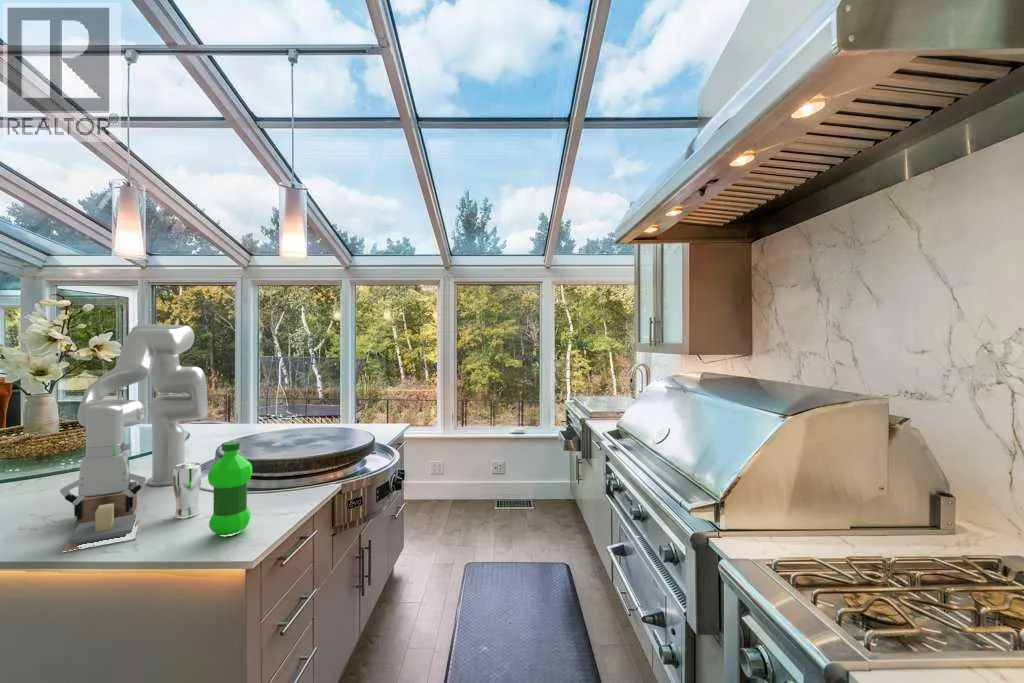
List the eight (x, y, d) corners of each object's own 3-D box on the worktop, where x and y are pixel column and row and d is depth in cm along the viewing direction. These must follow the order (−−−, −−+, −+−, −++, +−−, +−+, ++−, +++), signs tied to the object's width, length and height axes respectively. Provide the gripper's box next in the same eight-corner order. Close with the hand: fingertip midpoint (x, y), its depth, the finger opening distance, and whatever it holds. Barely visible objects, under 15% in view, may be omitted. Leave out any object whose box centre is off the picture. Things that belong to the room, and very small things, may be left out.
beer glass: (170, 521, 133) (170, 470, 133) (175, 512, 140) (175, 463, 139) (199, 517, 137) (199, 467, 136) (202, 509, 143) (202, 461, 142)
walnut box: (136, 506, 144) (136, 481, 144) (132, 519, 134) (132, 492, 134) (85, 514, 137) (85, 488, 137) (76, 529, 127) (76, 500, 127)
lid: (135, 521, 131) (136, 496, 131) (130, 537, 122) (131, 510, 121) (79, 531, 125) (79, 505, 125) (68, 549, 115) (68, 520, 115)
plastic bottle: (260, 527, 130) (261, 440, 130) (229, 543, 120) (230, 448, 120) (230, 523, 133) (231, 437, 132) (198, 539, 122) (198, 446, 122)
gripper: (147, 444, 131) (146, 503, 131) (63, 452, 121) (63, 516, 121) (144, 449, 125) (144, 512, 125) (56, 458, 115) (56, 526, 115)
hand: (104, 514), depth 123 cm, fingers open, 9 cm apart
